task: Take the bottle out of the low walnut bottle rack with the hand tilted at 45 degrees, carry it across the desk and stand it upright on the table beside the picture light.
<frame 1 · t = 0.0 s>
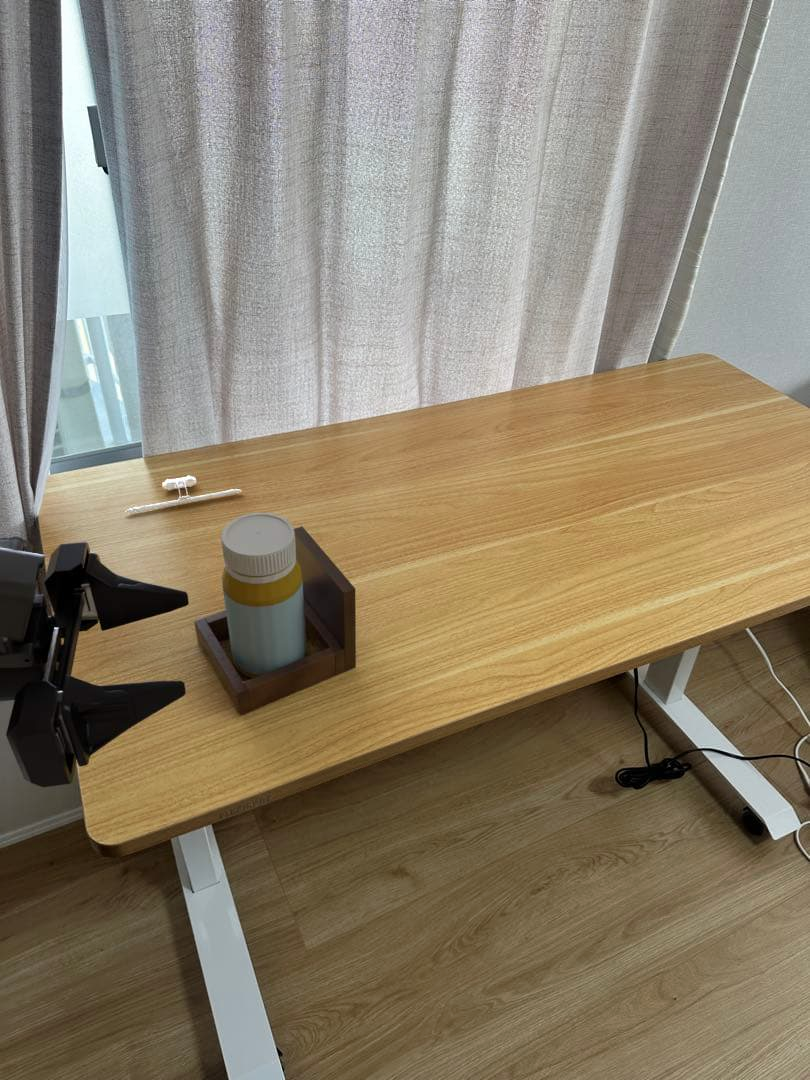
hand: (186, 640, 58), 15 cm above the table, tool horizontal, fingers open, 9 cm apart
picture light: (182, 496, 99), on the table
bottle: (270, 658, 78), resting in bottle rack
bottle rack: (270, 657, 77), on the table
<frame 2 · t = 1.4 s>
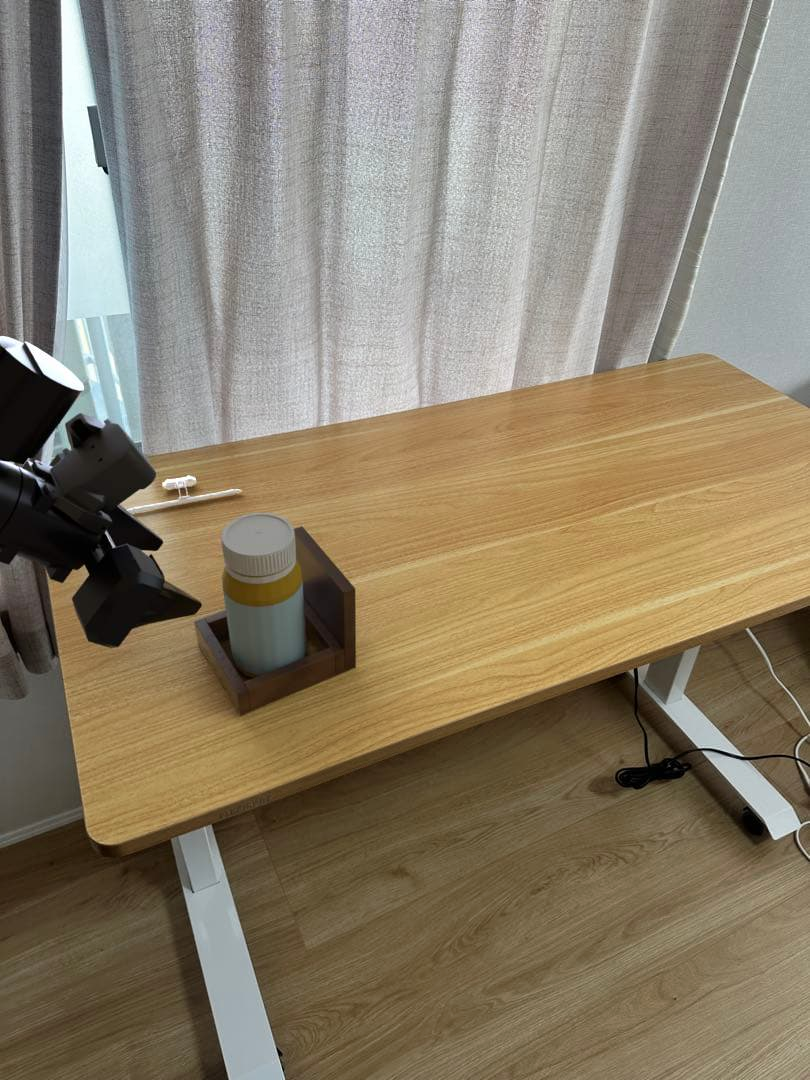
hand: (178, 575, 66), 13 cm above the table, tool tilted 45°, fingers open, 9 cm apart
nothing on the table moved.
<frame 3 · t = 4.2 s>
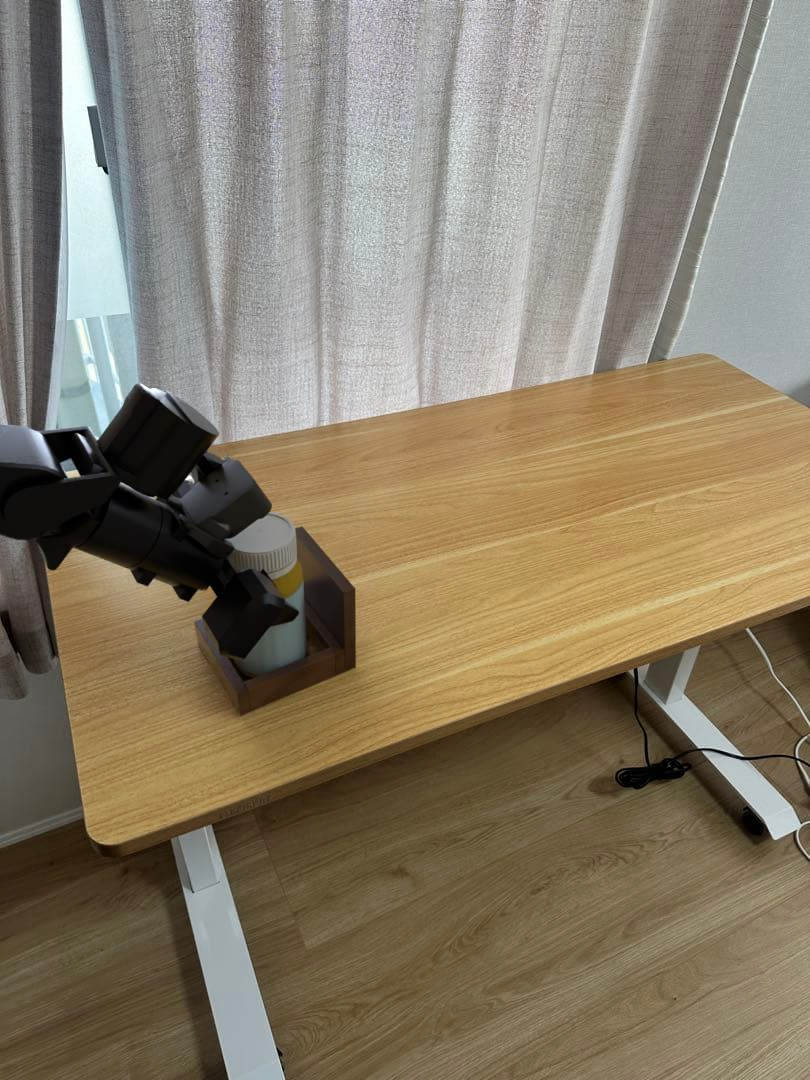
hand: (278, 592, 73), 8 cm above the table, tool tilted 45°, fingers closed on bottle, 7 cm apart
bottle: (270, 659, 77), resting in bottle rack, touching gripper
everything else where it was.
when the fingers open (8 cm above the table, at t = 11.9 s): bottle stays where it is, on the table.
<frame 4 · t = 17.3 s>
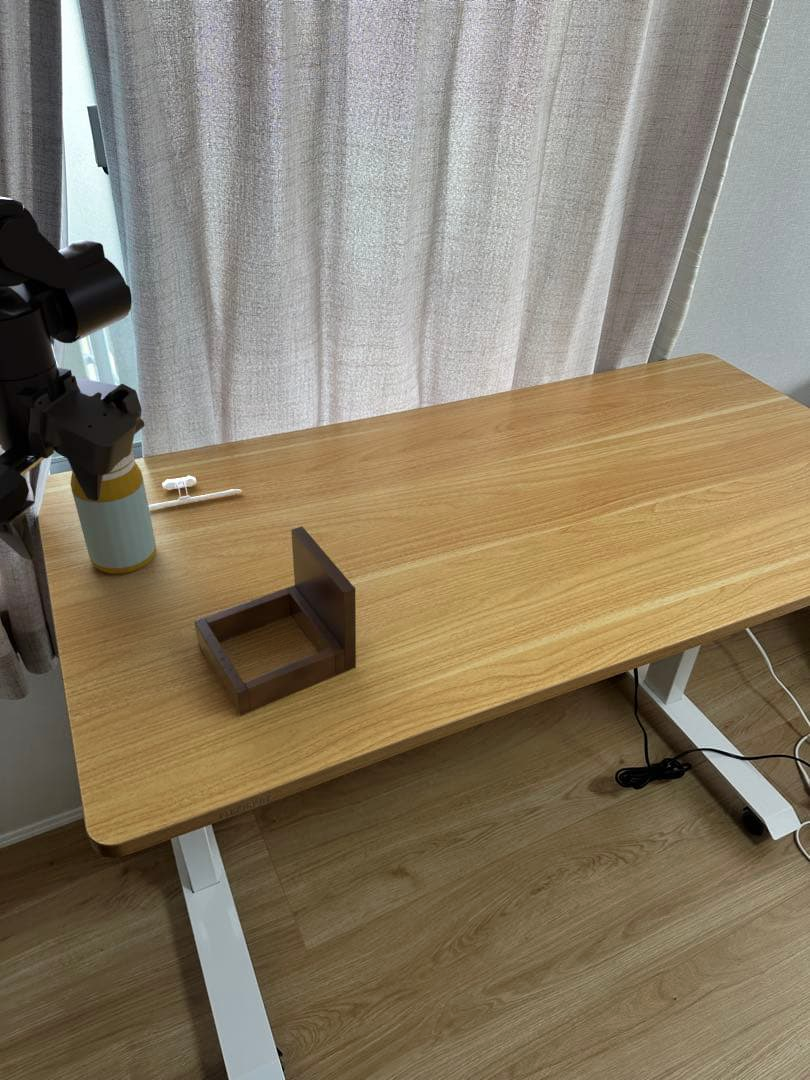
hand: (62, 527, 71), 13 cm above the table, tool pointing down, fingers open, 9 cm apart
bottle: (124, 558, 89), on the table
everything else where it was.
at the end: bottle 12.7 cm from the picture light (horizontally); bottle tilted 0°; bottle touching table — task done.
